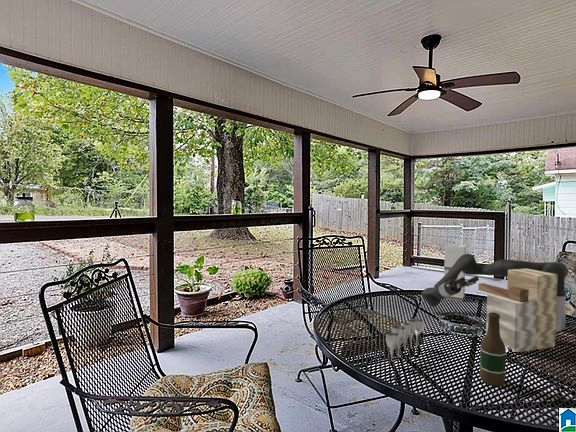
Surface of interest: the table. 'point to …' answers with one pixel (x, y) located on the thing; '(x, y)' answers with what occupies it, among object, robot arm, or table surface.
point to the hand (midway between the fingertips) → (471, 278)
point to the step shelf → (527, 311)
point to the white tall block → (450, 258)
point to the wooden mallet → (506, 292)
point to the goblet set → (404, 334)
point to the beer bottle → (493, 354)
